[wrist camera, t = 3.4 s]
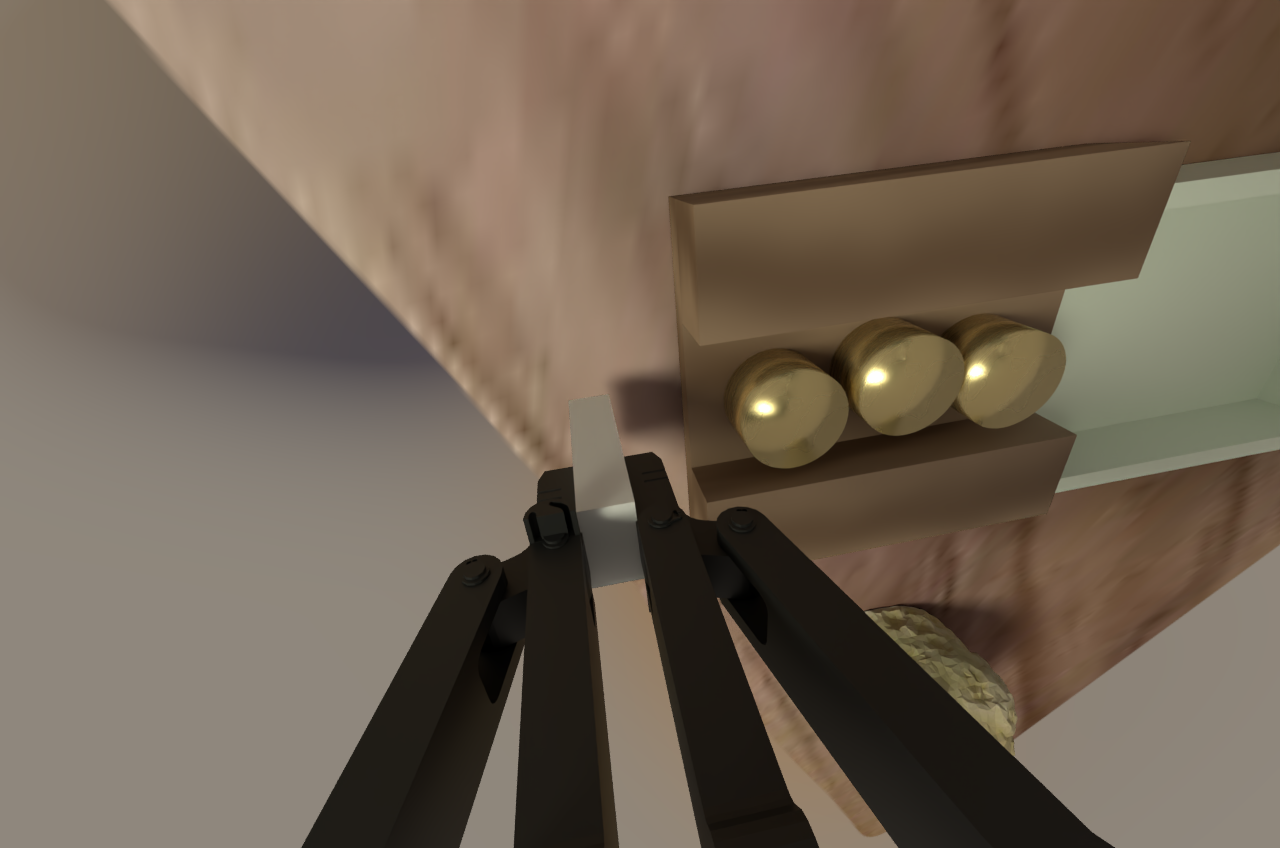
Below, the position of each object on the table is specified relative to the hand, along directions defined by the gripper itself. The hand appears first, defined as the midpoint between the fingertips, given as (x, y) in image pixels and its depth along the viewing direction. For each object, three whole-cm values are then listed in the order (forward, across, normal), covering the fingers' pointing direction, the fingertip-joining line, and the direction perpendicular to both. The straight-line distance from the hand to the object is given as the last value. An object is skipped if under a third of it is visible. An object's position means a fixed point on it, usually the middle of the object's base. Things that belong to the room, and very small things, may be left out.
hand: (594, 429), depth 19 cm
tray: (+2, +27, 0) cm, 27 cm away
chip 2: (+1, +12, 0) cm, 12 cm away
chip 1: (+1, +7, 0) cm, 7 cm away
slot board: (+2, +12, 0) cm, 12 cm away
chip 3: (+1, +16, 0) cm, 16 cm away
